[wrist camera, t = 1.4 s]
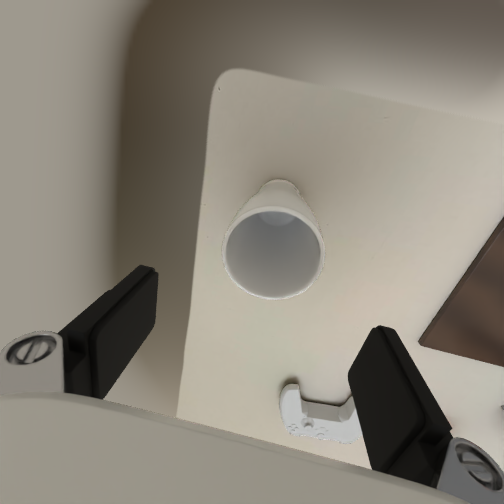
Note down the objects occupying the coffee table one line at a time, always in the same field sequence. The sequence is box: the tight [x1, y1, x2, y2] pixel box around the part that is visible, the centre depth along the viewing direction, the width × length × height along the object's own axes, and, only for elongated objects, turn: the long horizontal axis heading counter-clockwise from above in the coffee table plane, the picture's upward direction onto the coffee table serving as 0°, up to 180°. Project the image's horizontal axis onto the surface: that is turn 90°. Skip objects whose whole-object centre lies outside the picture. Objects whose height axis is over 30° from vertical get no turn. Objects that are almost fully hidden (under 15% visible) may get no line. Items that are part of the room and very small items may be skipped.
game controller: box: [279, 384, 362, 444], centre depth 41 cm, size 14×4×10 cm
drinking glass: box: [222, 179, 325, 300], centre depth 23 cm, size 7×7×15 cm
